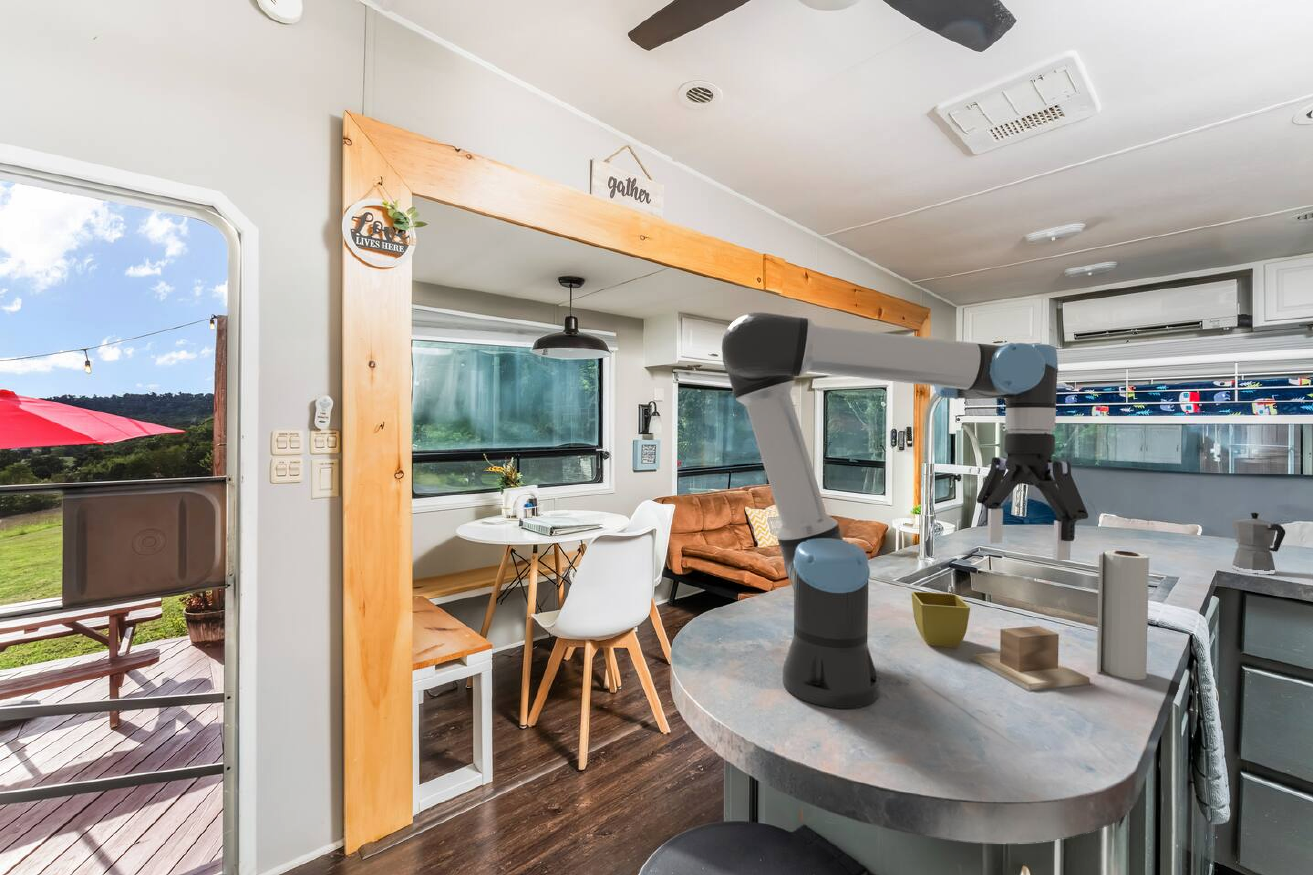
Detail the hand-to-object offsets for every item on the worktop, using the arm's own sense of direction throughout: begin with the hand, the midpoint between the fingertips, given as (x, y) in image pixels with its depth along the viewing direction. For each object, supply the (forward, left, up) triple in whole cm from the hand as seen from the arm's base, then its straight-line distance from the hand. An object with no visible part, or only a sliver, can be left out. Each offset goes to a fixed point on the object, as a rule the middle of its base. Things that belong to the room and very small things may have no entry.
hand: (1025, 550), depth 100 cm
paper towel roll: (+14, -5, -21) cm, 26 cm away
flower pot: (-7, +13, -21) cm, 26 cm away
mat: (-1, -2, -21) cm, 21 cm away
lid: (-1, -2, -21) cm, 21 cm away
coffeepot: (+128, +44, -21) cm, 137 cm away
